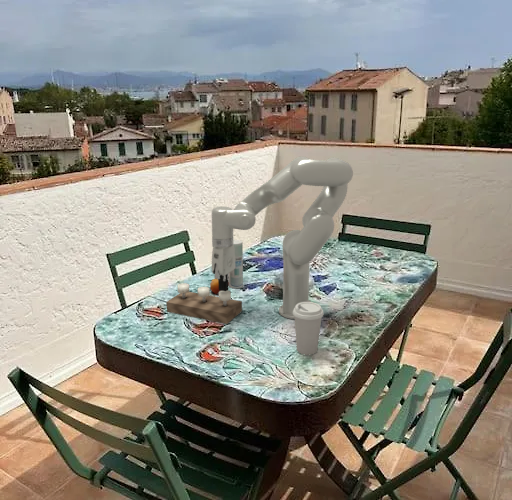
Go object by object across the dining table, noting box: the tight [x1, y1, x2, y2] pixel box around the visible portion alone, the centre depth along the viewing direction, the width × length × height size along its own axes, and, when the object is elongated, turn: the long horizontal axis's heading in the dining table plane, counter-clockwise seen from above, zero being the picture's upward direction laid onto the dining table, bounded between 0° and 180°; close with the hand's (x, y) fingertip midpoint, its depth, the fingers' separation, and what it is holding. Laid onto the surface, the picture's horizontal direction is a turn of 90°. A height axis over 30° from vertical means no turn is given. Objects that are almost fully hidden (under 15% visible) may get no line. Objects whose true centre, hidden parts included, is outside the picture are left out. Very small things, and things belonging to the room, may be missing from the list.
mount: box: [165, 291, 243, 325], centre depth 173 cm, size 26×12×4 cm, turn 65°
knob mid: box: [197, 286, 211, 302], centre depth 172 cm, size 4×4×5 cm
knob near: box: [218, 289, 232, 306], centre depth 168 cm, size 4×4×5 cm
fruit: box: [209, 278, 229, 295], centre depth 191 cm, size 8×8×8 cm
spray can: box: [228, 239, 244, 290], centre depth 195 cm, size 6×6×20 cm
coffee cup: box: [293, 301, 324, 356], centre depth 143 cm, size 10×10×15 cm
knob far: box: [177, 282, 190, 298], centre depth 175 cm, size 4×4×5 cm
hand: (223, 289), depth 167 cm, fingers closed
